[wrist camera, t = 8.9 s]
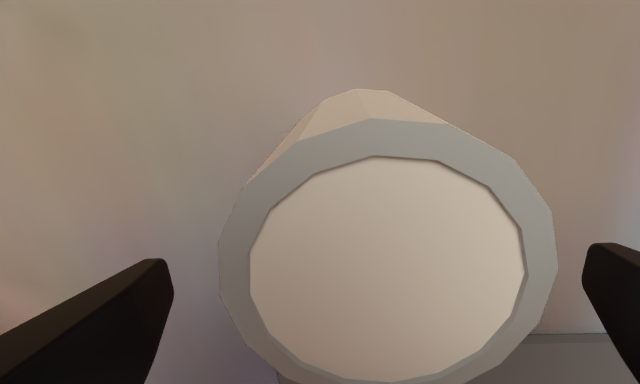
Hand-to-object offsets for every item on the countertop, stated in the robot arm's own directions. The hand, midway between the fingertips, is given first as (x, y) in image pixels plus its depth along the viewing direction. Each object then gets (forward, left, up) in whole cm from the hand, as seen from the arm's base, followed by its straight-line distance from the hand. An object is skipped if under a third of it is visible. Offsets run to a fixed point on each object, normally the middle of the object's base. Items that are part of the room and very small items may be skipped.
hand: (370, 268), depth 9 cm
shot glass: (0, 0, -7) cm, 7 cm away
